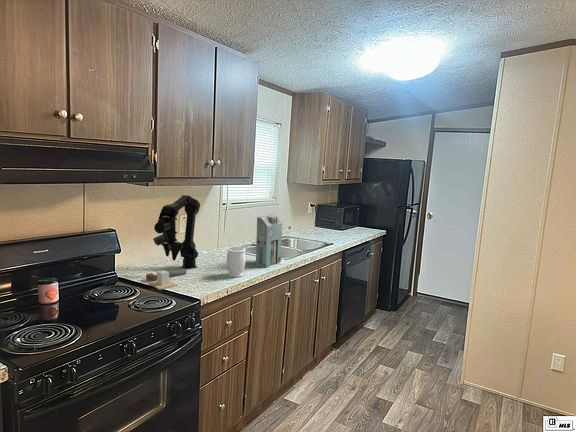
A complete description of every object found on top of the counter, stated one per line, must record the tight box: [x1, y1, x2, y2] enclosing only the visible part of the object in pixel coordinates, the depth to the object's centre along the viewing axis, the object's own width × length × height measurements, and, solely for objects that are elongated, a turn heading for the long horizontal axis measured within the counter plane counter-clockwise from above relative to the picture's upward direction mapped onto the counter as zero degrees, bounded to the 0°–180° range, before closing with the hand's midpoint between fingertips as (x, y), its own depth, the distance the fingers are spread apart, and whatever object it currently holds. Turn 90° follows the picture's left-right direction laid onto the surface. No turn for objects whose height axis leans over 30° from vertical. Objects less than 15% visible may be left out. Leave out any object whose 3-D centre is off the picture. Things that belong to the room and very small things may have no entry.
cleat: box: [145, 272, 157, 282], centre depth 208 cm, size 3×5×3 cm, turn 44°
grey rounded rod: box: [155, 268, 187, 280], centre depth 216 cm, size 18×3×3 cm, turn 135°
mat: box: [147, 279, 179, 291], centre depth 202 cm, size 10×12×1 cm
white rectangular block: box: [156, 270, 170, 285], centre depth 202 cm, size 4×5×6 cm
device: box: [255, 213, 283, 269], centre depth 246 cm, size 16×8×30 cm, turn 148°
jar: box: [226, 246, 247, 278], centre depth 222 cm, size 11×10×15 cm
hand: (170, 258), depth 213 cm, fingers open, 9 cm apart
